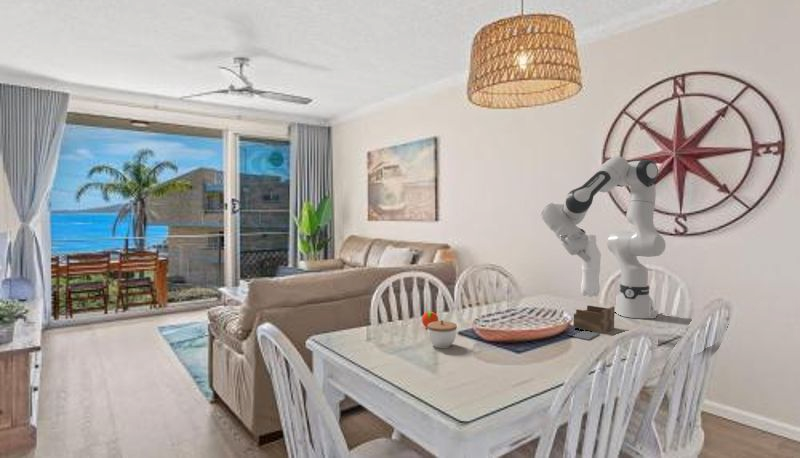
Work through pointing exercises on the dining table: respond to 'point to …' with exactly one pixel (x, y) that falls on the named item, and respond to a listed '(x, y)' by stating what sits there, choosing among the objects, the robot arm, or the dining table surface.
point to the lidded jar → (441, 333)
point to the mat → (586, 335)
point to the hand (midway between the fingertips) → (592, 260)
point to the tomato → (429, 318)
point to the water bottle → (591, 269)
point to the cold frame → (595, 319)
